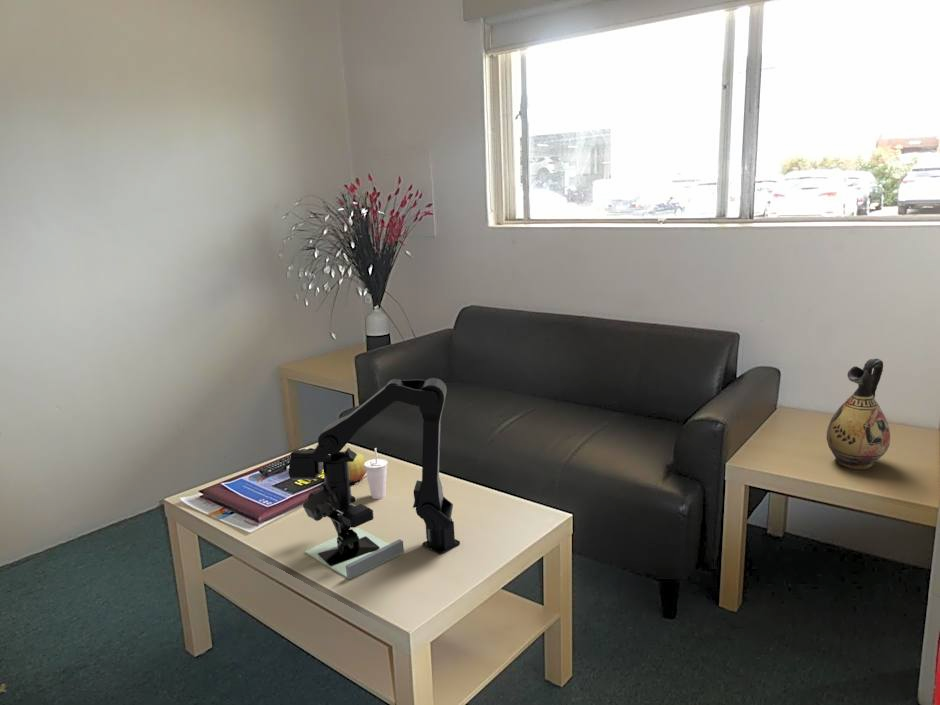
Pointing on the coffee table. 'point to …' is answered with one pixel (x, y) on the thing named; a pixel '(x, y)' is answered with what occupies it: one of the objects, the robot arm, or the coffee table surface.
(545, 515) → the coffee table surface
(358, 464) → the apple
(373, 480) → the smoothie
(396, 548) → the base plate
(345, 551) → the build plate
